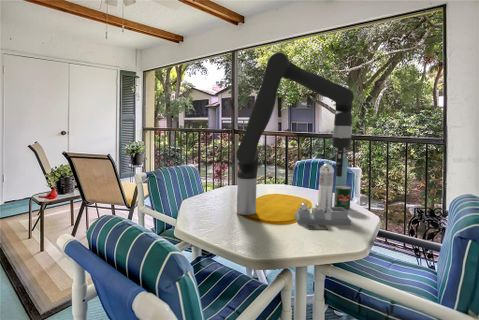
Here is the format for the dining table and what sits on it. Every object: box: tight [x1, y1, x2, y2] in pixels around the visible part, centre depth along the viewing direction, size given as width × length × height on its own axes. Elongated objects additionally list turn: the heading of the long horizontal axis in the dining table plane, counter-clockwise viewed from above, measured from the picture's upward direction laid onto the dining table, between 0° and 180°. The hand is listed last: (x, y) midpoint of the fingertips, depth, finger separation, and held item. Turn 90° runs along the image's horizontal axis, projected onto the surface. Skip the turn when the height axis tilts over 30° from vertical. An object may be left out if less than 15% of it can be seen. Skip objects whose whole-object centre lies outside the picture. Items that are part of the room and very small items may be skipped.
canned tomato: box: [333, 185, 352, 211], centre depth 154 cm, size 8×8×11 cm
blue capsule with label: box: [334, 155, 349, 186], centre depth 131 cm, size 4×4×13 cm
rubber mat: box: [306, 224, 329, 231], centre depth 126 cm, size 8×5×1 cm, turn 88°
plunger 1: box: [300, 202, 308, 210], centre depth 133 cm, size 3×3×5 cm
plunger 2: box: [314, 202, 322, 211], centre depth 133 cm, size 3×3×5 cm
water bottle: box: [317, 160, 335, 213], centre depth 148 cm, size 7×7×25 cm
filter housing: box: [294, 206, 352, 226], centre depth 134 cm, size 23×9×6 cm, turn 88°
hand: (339, 175), depth 131 cm, fingers closed on blue capsule with label, 4 cm apart
